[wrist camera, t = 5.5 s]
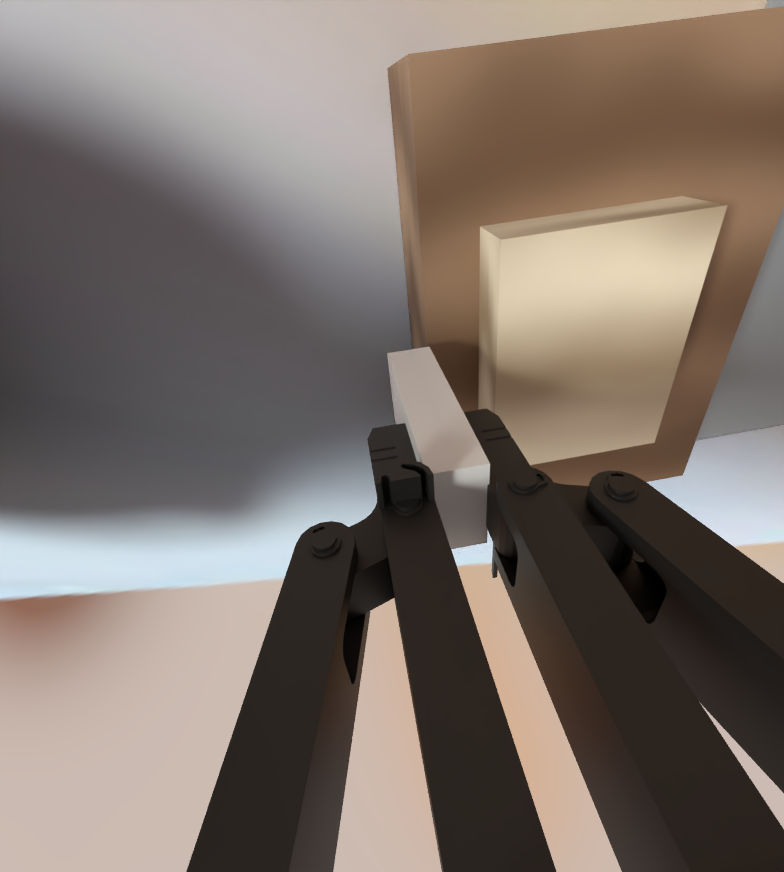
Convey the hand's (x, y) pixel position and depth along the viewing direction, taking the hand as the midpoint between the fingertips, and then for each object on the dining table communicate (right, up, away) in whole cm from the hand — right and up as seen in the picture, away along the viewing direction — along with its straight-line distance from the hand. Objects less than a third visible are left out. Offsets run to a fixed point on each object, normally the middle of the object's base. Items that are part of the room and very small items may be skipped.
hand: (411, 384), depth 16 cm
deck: (+7, +4, +5) cm, 9 cm away
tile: (+6, +2, +1) cm, 7 cm away
